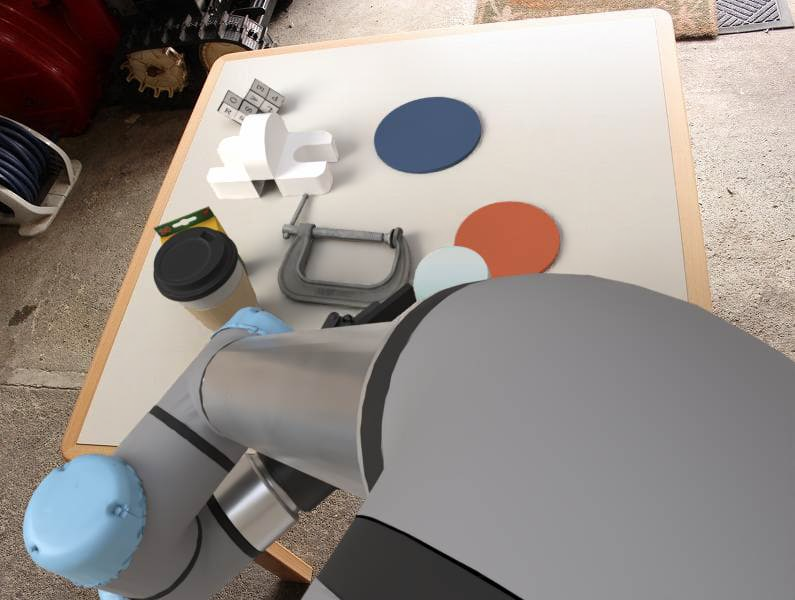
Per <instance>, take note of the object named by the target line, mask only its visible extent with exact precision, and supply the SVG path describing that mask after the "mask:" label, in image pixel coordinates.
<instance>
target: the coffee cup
mask: <svg viewBox="0 0 795 600" xmlns="http://www.w3.org/2000/svg"><path fill="white" fill-rule="evenodd" d="M226 234H227V233H226ZM226 234H224V233H223V232H220V231H218V230H214V229H211V228H208V227H192V228H188V229H185V230H182V231H180V232H178V233H176V234H175V235H173V236H172V237H170V238H169V239H168V240H167V241H166V242H165V243H164V244H163V245H162V244H161V246H160V247H159V248H158V250H157V251H156V254H155V256H154V259H153V273H152V275H153V281H154V284H155V286H156V288H157V290H158V292H159V293H160V294H161V296H163V297H164V298H165V299H168V300H169V301H173V302H176V303H177V302H178V303H179V304H180V306H182V307H183V308H184V309H185V310H186V311H188V312H189V313H190V314H191V315H192V316H193V317H194V318H195V319H196V320H197V321H199V322H200V323H201V324H202V325H203V326H205V327H206V328H207V329H209V330H211V331H212V332H213V334H214V333H215V332H216V331H217V330H219V329H220V328H221V327H223V326H224V325H225V324H226V323H227V322H228V321H229V320H230V319H231V318H232V317H233V316H234V315H235V314H236V313H237V312H238V311H239V310H241V309H242V308H245V307H255V308H258V309H260V310H261V311H263V310H262V307H261V306H260V304H259V300H258V299H257V294H256V291H255V290H254V287H253V285H252V283H251V280H250V279H249V275H248V276H247V274H248V273H247V274H246V272H245V270H244V268H243V266H242V264H241V262H240V261H239V260H238V254H239V250H238V247H237V245H236V243H235V242H234V240H233V239H232V238H230V237H229V236H227V235H228V234H227V235H226Z"/></svg>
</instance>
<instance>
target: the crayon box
mask: <svg viewBox="0 0 795 600" xmlns="http://www.w3.org/2000/svg"><path fill="white" fill-rule="evenodd" d="M191 218H195V219H193V220H190V221H188V223H186V224H180V225H178V226H174V225H176V224H178V223H180V222H182V221H183V220H188V219H191ZM192 227H208V228H211V229H214V230H218V231H220V232H223V233H224V234H226V235H227V236H228V235H229V234H228V233H227V232H226V231H225V229H224V227H223V226H222V224H221V222H220V221H219V219H218V218H217V215H215V213H214V212H213V210H212V209H211V207H210V205H208V206H206V207H203V208H200V209H198V210H195V211H192V212H191V213H188V214H185V215H183V216H180V217H177V218H175V219H172V220H170V221H167V222H165V223H162V224H159V225H156V226H154V227H153V230H154V231H155V232H156V234H157V235H158V236H159V239H160V243H161V246H162V245H163V244H164V243H165V242H166V241H167V240H168V239H169V238H170V237H172V236H173V235H175V234H176V233H178V232H180V231H182V230H185V229H188V228H192ZM228 237H229V236H228ZM238 260H239V261H240V262H241V264H242V266H243V268H244V270H245V272H246V274H247V276H248V277H249V274H248V270H247V267H246V265H245V261H244V260H243V259H242V256H241V255H240V254H239V253H238Z"/></svg>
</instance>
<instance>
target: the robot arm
mask: <svg viewBox="0 0 795 600" xmlns="http://www.w3.org/2000/svg"><path fill="white" fill-rule="evenodd" d="M261 310H262V309H261ZM261 310H260V309H258V308H255V307H245V308H242V309H241V310H239V311H238V312H237V313H236V314H235V315H234V316H233V317H232V318H231V319H230V320H229V321H228V322H227V323H226V324H225V325H224V326H223V327H221V328H220V329H219V330H217V331H216V332H215V333H214V332H213V334H212V335H211V337H210V339H209V342H208V343H207V344H206V345H205V346H204V348H203V349H202V350H201V351H200V352H199V353H198V355H196V357H195V358H194V359H193V360H192V362H191V363H189V365H188V366H187V368H186V369H185V370H184V371H183V372H182V373H181V374H180V375H179V377H177V379H176V380H175V382H174V383H173V384H172V385H171V387H169V388H168V389H167V391H166V392H165V393H164V394H163V395H162V397H161V398H160V399H159V400H158V401H157V403H156V404H155V405H153V406H152V408H151V409H150V410H149V411H148V412H146V413H145V414H144V416H143V417H142V418H141V420H139V421H138V423H137V424H136V425H135V426H134V427H133V428H132V430H131V431H130V432H129V433H128V434H127V435H126V436H125V438H124V439H123V440H122V441H121V442H120V443H119V444H118V446H117V447H116V448H115V449H114V450H113V451H112V453H110V455H109V454H103V453H86V454H81V455H79V456H75V457H74V458H72V459H71V460H70V461H68V462H66V463H65V464H63V465H61V466H58V467H55V468H54V469H53V470H51V472H49V474H48V475H46V477H44V479H42V481H41V482H40V483H39V485H38V486H37V487H36V489H35V490H34V492H33V493H32V496H31V497H30V500H29V502H28V503H27V507H26V510H25V513H24V518H23V524H22V537H23V542H24V546H25V549H26V552H27V553H28V555H29V556H30V558H31V560H32V561H33V562H34V564H35V565H37V566H39V567H40V568H42V569H43V570H46V571H47V572H50V573H53V574H56V575H58V576H60V577H63V578H65V579H67V580H69V581H70V582H71V583H72V584H73V585H75V586H77V587H84V588H87V589H94V590H97V592H98V596H99V599H100V600H210V599H211V598H212V597H213V596H215V594H217V593H218V592H219V591H220V590H221V589H222V588H223V587H224V586H226V585H227V584H228V583H229V582H230V581H231V580H233V578H235V577H236V576H237V575H238V574H239V573H240V572H241V571H242V570H244V569H245V568H246V567H247V566H249V565H250V564H251V563H252V562H253V561H254V560H256V558H258V557H259V556H260V555H261V554H263V552H265V551H266V550H267V549H268V548H270V547H271V546H272V545H273V544H274V543H276V542H277V541H278V540H279V539H280V538H281V537H283V535H285V534H286V533H287V532H288V531H290V530H291V529H292V528H294V526H295V525H296V524H298V523H299V521H300V515H299V512H301V511H302V512H303V513H307V512H308V513H311V512H312V511H313V510H314V509H316V508H317V507H318V506H319V505H320V504H322V503H323V502H324V501H325V499H327V498H328V497H329V496H331V495H332V494H333V493H334V492H335V491H336V490H337V489H340V490H342V491H344V492H346V493H349V494H351V495H352V496H356V497H357V498H360V499H362V500H364V501H363V503H362V505H361V506H360V508H359V510H358V511H357V512H356V514H355V516H354V519H353V520H352V522H351V523H350V525H349V526H348V528H347V530H346V531H345V533H344V534H343V536H342V537H341V539H340V540H339V542H338V543H337V545H336V546H335V549H333V551H332V553H331V554H330V556H329V558H328V559H327V561H326V562H325V564H324V565H323V567H322V568H321V569H320V571H319V572H318V574H317V575H316V576H315V577H314V579H313V580H312V582H311V584H310V585H309V586H308V588H307V590H306V591H305V592H304V594H303V596H302V598H301V599H300V600H795V361H794V360H792V359H791V358H790V357H788V356H787V354H785V353H783V352H782V351H781V350H778V349H776V348H775V347H773V346H772V345H770V344H768V343H766V342H764V341H763V340H761V339H760V338H758V337H756V336H755V335H753V334H751V333H750V332H748V331H747V330H744V329H743V328H741V327H739V326H737V325H735V324H733V323H731V322H729V321H728V320H725V319H724V318H722V317H720V316H718V315H717V314H715V313H712V312H711V311H709V310H707V309H706V308H703V307H702V306H700V305H698V304H695V303H692V302H690V301H686V300H683V299H681V298H677V297H673V296H671V295H668V294H665V293H662V292H659V291H656V290H653V289H650V288H647V287H644V286H640V285H638V284H633V283H629V282H624V281H619V280H615V279H609V278H605V277H601V276H597V275H591V274H576V273H556V272H555V273H554V272H543V273H533V274H524V275H514V276H505V277H496V278H491V279H486V280H481V281H475V282H469V283H464V284H460V285H456V286H452V287H448V288H444V289H442V290H440V291H437V292H435V293H433V294H431V295H429V296H427V297H426V298H424V299H422V300H421V301H419V302H418V300H417V297H416V293H415V290H414V285H412V284H411V283H410V282H407V283H406V284H405V285H404V286H403V287H401V288H400V289H399V290H397V291H396V292H395V293H394V294H392V295H391V296H390V297H388V298H387V299H386V300H385V301H383V302H382V303H380V302H379V301H375V302H373V303H371V304H370V305H369V306H367V307H366V308H363V309H362V310H361V311H360V312H358V313H357V314H356V315H354V316H353V315H352V314H350V313H347V314H344V315H343V316H342V315H340V313H339V312H337V311H331V312H330V313H329V314H328V315H327V317H326V318H325V320H324V321H323V324H322V326H320V328H318V329H317V328H316V329H309V330H308V329H307V330H299V331H295V330H294V329H293V328H292V327H291V326H289V325H288V324H287V323H285V322H284V321H283V320H281V319H280V318H279V317H278V316H276V315H274V314H271V313H270V312H268V311H264V310H262V311H261ZM397 318H398V319H397ZM396 319H397V320H396ZM249 449H251V450H253V451H255V453H251V452H248V450H249Z"/></svg>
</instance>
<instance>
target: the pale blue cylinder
mask: <svg viewBox="0 0 795 600" xmlns="http://www.w3.org/2000/svg"><path fill="white" fill-rule="evenodd" d="M486 279H491V275H490V271H489V268H488V266H487V265H486V263H485V261H484V260H483V258H482V257H481V256H480V255H479V254H478V253H476V252H475V251H473V250H471V249H468V248H465V247H460V246H455V245H449V246H443V247H440V248H437V249H434V250H433V251H431V252H429V253H428V254H426V255H425V257H423V258H422V259H421V260H420V262H419V263H418V265H417V266H416V268H415V271H414V278H413V289H414V292H415V296H416V300H417V303H418V302H419V301H421V300H422V299H424V298H426V297H427V296H429V295H431V294H433V293H435V292H437V291H440V290H442V289H444V288H448V287H452V286H456V285H460V284H464V283H469V282H475V281H481V280H486Z"/></svg>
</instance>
